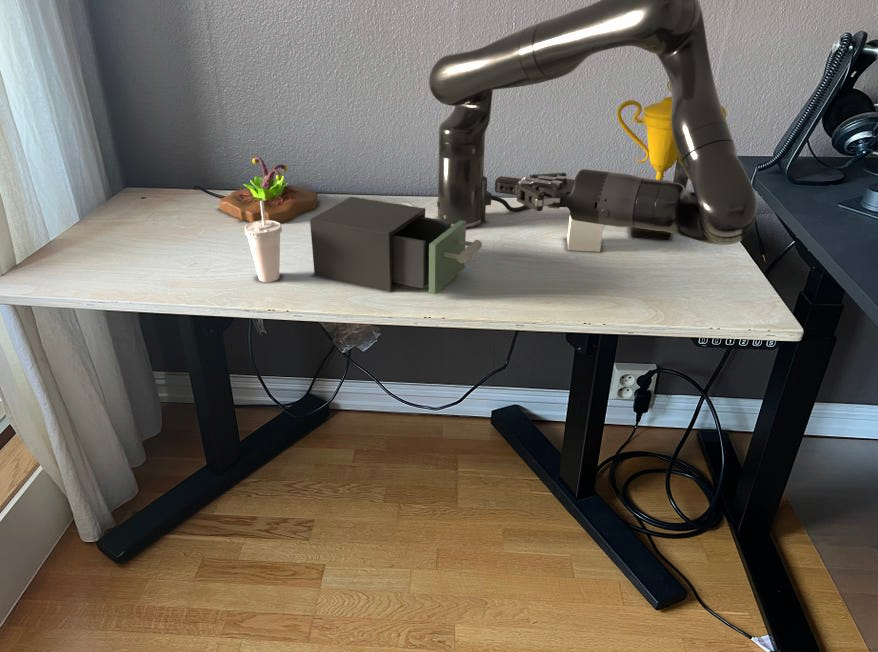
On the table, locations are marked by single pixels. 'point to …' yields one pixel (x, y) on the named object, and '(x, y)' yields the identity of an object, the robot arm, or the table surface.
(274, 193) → the plant
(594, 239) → the off-white cube
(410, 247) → the drawer
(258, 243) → the smoothie
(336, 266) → the cabinet
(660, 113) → the trophy
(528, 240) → the table surface
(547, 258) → the table surface
